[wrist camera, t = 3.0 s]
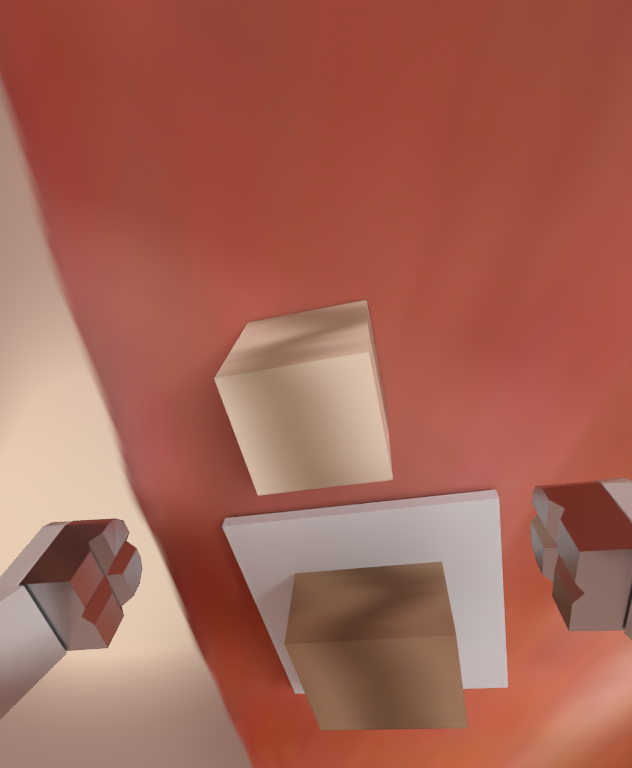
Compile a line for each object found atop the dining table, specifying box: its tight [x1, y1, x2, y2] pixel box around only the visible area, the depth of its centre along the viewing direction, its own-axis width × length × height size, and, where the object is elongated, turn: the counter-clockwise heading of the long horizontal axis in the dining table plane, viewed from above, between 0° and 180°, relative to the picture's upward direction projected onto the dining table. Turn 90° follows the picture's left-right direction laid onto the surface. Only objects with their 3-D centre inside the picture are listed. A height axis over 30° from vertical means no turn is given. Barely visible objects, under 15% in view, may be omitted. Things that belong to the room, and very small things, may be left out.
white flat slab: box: [222, 489, 508, 694], centre depth 26 cm, size 14×16×1 cm
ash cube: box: [214, 300, 393, 496], centre depth 17 cm, size 5×5×5 cm
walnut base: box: [284, 561, 468, 730], centre depth 24 cm, size 8×8×4 cm
